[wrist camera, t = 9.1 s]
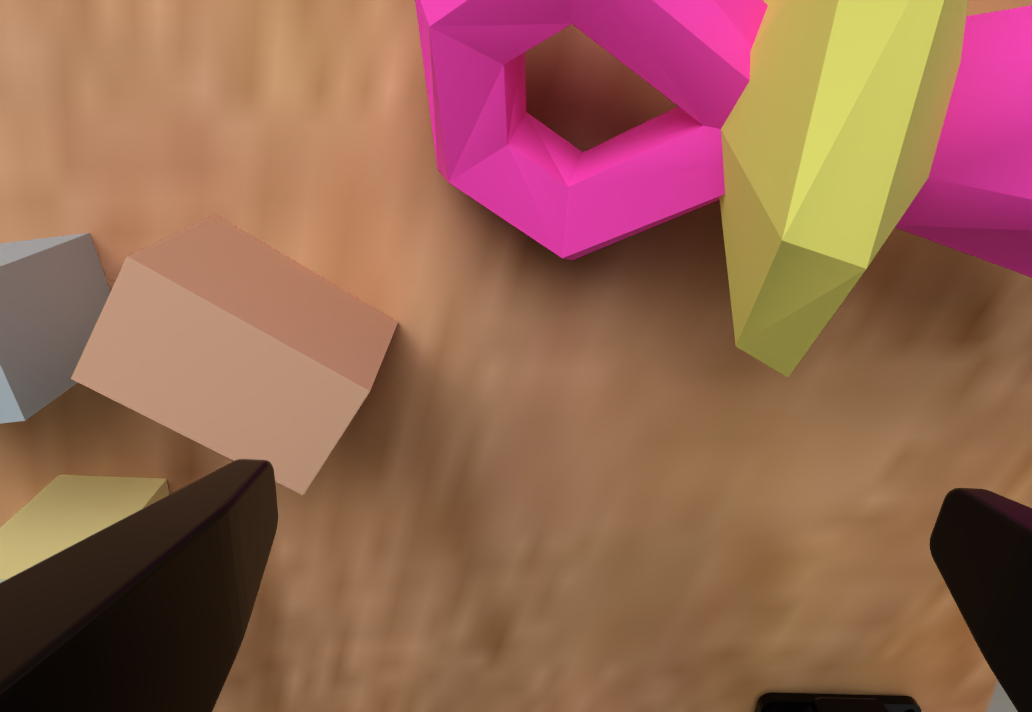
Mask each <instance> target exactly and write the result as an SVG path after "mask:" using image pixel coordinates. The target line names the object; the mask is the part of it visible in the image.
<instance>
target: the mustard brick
mask: <svg viewBox="0 0 1032 712" xmlns="http://www.w3.org/2000/svg"><path fill="white" fill-rule="evenodd" d="M168 495H169V489H168V483H167V479H164V478H138V477H113V476H87V475H61V474H59V475H58V476H57V477H56V478H55V479H54V480H53V481H51V482H50V483H49V484H48V485H47V486H46V487H45V488H44V489H43V490H42V491H40V492H39V493H38V494H37V495H36V496H35V497H34V498H33V499H32V500H30V501H29V502H28V503H27V504H26V505H25V506H24V507H23V508H22V509H21V510H19V511H18V512H17V513H16V514H15V515H14V516H13V517H12V518H11V519H9V520H8V521H7V522H6V523H5V524H4V525H3V526H2V527H1V528H0V579H6V580H7V579H9V578H11V577H12V576H14V575H16V574H18V573H20V572H22V571H24V570H26V569H28V568H30V567H32V566H34V565H36V564H37V563H39V562H41V561H43V560H45V559H47V558H49V557H51V556H53V555H55V554H57V553H59V552H61V551H62V550H64V549H66V548H68V547H70V546H72V545H74V544H76V543H78V542H80V541H82V540H84V539H85V538H87V537H89V536H91V535H93V534H95V533H97V532H99V531H101V530H103V529H105V528H107V527H109V526H110V525H112V524H114V523H116V522H118V521H120V520H122V519H124V518H126V517H128V516H130V515H132V514H133V513H135V512H137V511H139V510H141V509H143V508H145V507H147V506H149V505H151V504H153V503H155V502H157V501H158V500H160V499H162V498H164V497H166V496H168Z"/></svg>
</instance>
